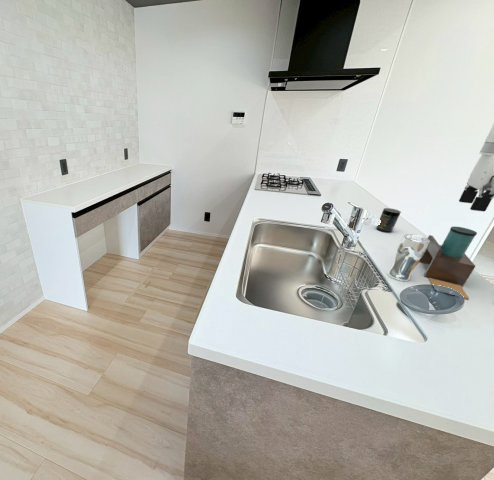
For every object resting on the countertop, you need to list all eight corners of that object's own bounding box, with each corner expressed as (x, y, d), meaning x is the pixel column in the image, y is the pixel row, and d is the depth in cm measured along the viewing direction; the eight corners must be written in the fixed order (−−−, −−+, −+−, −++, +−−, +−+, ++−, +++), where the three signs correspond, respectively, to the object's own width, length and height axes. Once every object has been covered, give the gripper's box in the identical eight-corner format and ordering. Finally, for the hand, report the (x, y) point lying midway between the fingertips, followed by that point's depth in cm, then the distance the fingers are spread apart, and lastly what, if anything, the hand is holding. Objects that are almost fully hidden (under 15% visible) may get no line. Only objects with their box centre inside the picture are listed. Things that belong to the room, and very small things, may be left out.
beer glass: (410, 284, 87) (430, 245, 80) (384, 276, 91) (402, 238, 84) (411, 276, 91) (431, 238, 85) (387, 268, 95) (404, 231, 89)
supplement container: (390, 234, 125) (399, 213, 120) (374, 229, 129) (382, 209, 124) (393, 230, 129) (402, 210, 124) (377, 226, 133) (385, 207, 129)
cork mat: (459, 286, 86) (460, 285, 86) (468, 299, 80) (469, 298, 80) (428, 279, 90) (429, 277, 90) (434, 291, 84) (435, 289, 84)
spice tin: (459, 252, 92) (473, 229, 88) (465, 259, 87) (480, 235, 83) (436, 247, 94) (448, 225, 90) (441, 254, 90) (454, 231, 86)
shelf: (450, 267, 97) (465, 241, 93) (462, 286, 87) (480, 258, 82) (416, 260, 102) (429, 235, 97) (424, 276, 91) (439, 249, 86)
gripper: (537, 153, 66) (500, 216, 74) (504, 147, 80) (476, 201, 87) (495, 151, 70) (464, 211, 77) (470, 146, 83) (446, 198, 91)
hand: (470, 206), depth 82 cm, fingers open, 9 cm apart
